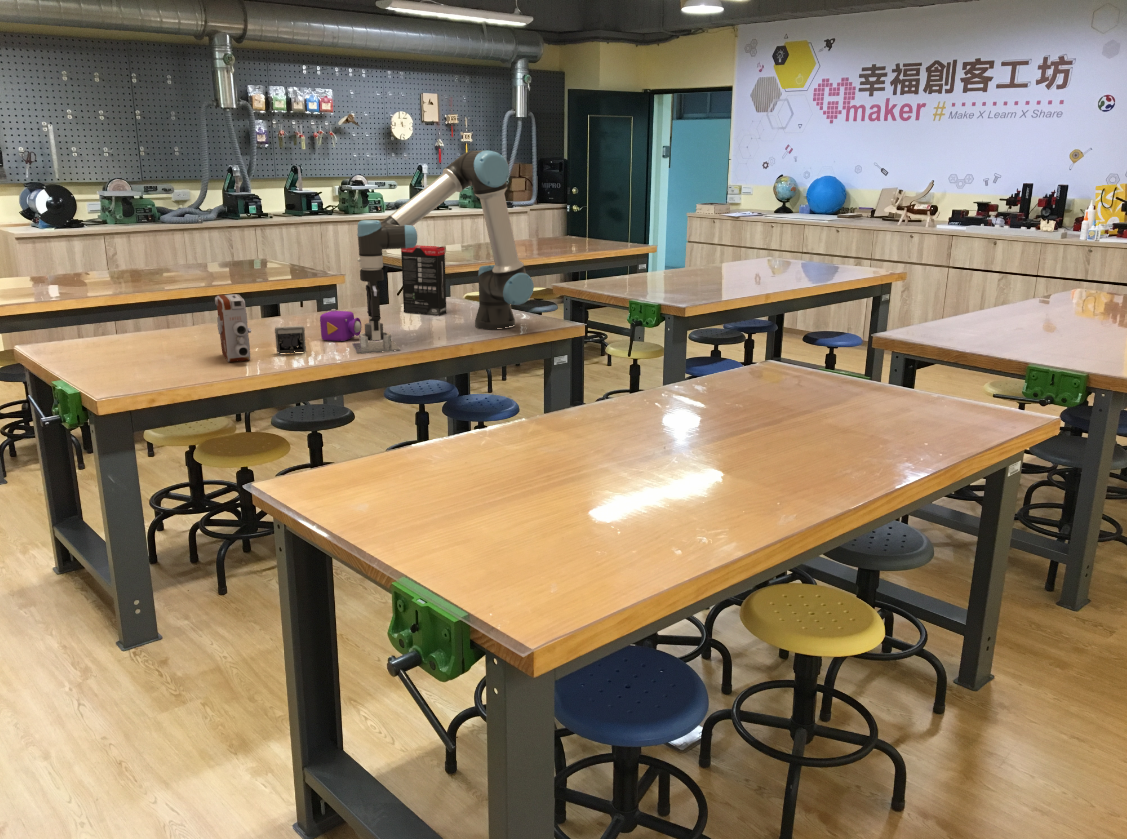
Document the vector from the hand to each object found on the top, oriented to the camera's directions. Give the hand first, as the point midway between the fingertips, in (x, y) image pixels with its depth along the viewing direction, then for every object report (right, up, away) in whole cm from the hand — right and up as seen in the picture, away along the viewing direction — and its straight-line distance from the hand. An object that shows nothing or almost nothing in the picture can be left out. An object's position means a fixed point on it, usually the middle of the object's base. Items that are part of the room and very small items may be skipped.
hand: (375, 337), depth 303 cm
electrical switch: (-25, -6, -7) cm, 27 cm away
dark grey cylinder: (0, 0, 0) cm, 0 cm away
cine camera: (-40, -9, -16) cm, 44 cm away
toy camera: (-14, +1, +15) cm, 20 cm away
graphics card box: (+7, +16, +64) cm, 66 cm away
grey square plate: (0, -3, +1) cm, 3 cm away
